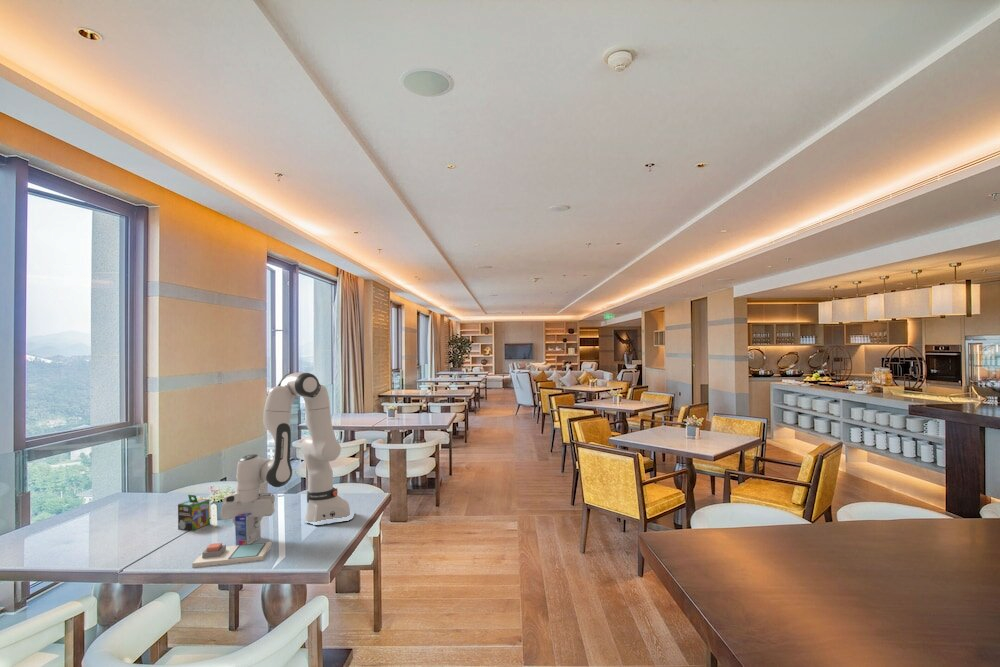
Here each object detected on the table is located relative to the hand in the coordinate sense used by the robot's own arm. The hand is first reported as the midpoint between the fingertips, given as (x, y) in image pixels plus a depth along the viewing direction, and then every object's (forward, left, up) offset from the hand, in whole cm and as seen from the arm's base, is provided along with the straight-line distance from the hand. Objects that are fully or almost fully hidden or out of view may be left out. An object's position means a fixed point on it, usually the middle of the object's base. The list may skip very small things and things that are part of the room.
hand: (248, 527), depth 199 cm
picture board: (+1, +14, -6) cm, 16 cm away
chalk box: (+30, -26, -6) cm, 40 cm away
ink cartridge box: (0, 0, -6) cm, 6 cm away
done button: (+8, +14, -3) cm, 17 cm away
